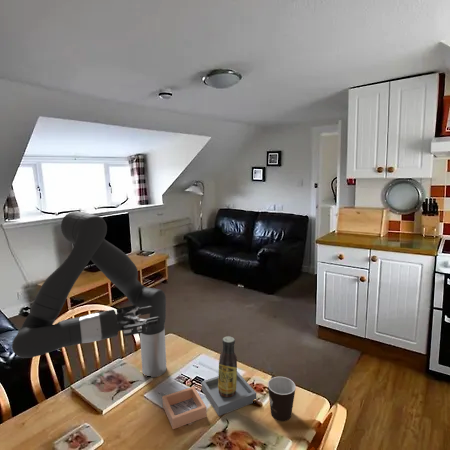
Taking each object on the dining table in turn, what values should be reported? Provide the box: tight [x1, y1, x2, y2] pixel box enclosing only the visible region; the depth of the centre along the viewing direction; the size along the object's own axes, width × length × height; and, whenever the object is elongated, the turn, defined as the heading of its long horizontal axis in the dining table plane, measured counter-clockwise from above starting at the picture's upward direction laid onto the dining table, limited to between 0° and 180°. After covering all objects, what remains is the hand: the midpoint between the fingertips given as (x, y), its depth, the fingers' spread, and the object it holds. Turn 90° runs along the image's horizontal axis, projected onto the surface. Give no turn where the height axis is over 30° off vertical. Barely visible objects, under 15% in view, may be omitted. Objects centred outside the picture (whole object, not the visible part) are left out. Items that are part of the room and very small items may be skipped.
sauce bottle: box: [218, 335, 238, 397], centre depth 109 cm, size 6×6×20 cm
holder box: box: [161, 385, 208, 430], centre depth 104 cm, size 11×11×4 cm
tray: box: [201, 371, 257, 417], centre depth 111 cm, size 14×14×3 cm
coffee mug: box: [267, 375, 297, 422], centre depth 103 cm, size 12×9×10 cm
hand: (155, 314), depth 97 cm, fingers open, 8 cm apart
